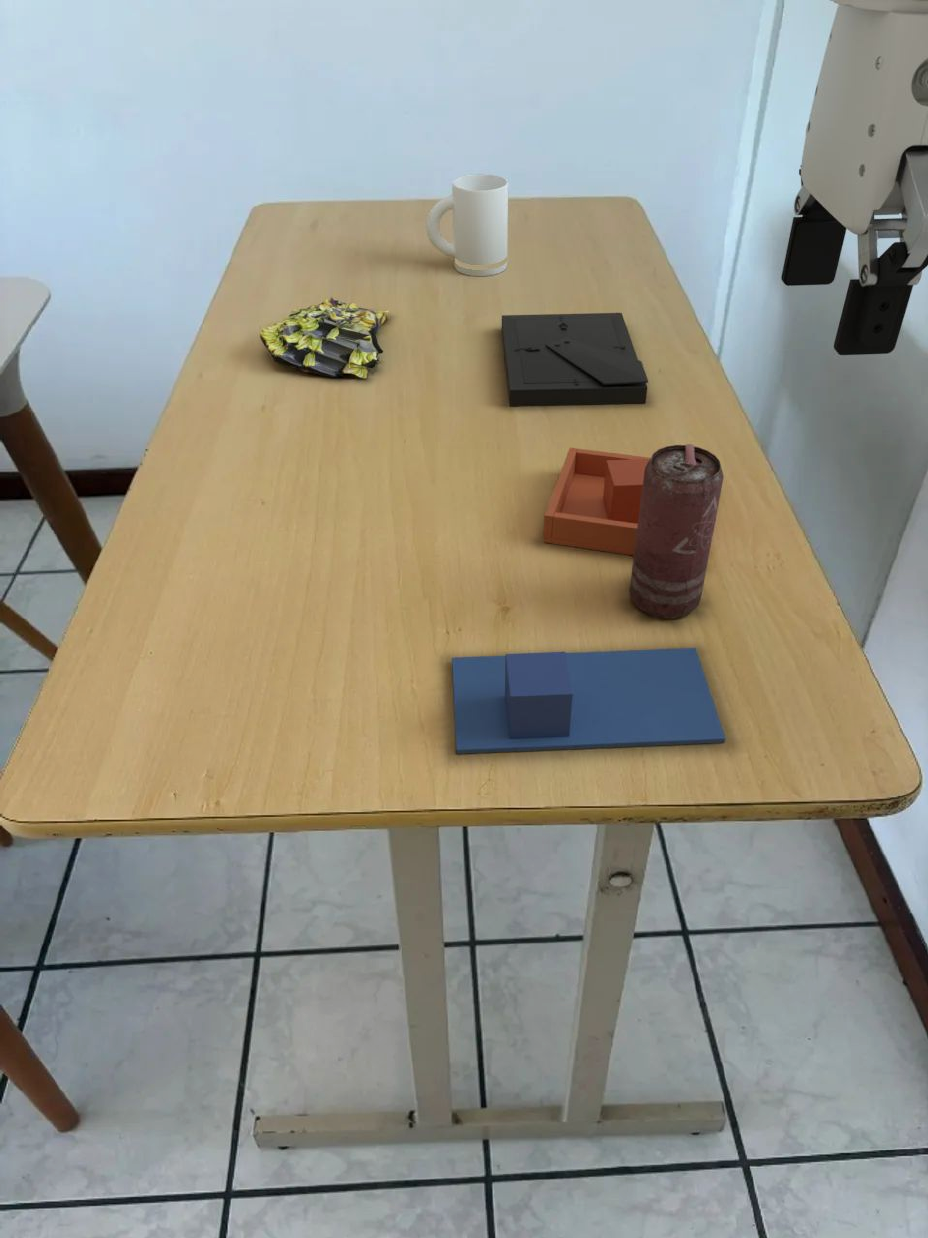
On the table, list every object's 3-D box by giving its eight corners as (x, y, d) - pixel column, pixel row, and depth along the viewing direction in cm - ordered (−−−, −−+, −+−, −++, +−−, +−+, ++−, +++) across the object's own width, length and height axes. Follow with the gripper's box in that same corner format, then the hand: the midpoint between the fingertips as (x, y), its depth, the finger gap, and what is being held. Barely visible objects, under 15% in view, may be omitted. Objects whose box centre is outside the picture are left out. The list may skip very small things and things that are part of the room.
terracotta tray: (710, 492, 97) (715, 465, 95) (699, 565, 88) (704, 538, 86) (568, 473, 100) (569, 447, 98) (543, 542, 91) (544, 515, 89)
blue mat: (694, 652, 79) (695, 647, 78) (724, 743, 71) (726, 738, 71) (452, 661, 78) (451, 657, 78) (456, 754, 71) (456, 749, 70)
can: (696, 577, 86) (720, 440, 77) (702, 623, 81) (729, 483, 72) (627, 574, 87) (644, 438, 78) (630, 619, 82) (648, 480, 73)
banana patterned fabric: (311, 311, 134) (321, 266, 131) (416, 357, 133) (429, 312, 129) (239, 349, 118) (247, 299, 114) (358, 402, 116) (370, 352, 113)
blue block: (562, 693, 75) (565, 651, 72) (569, 736, 71) (573, 693, 68) (504, 696, 75) (505, 653, 72) (509, 739, 71) (510, 696, 68)
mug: (427, 258, 147) (423, 175, 139) (504, 255, 147) (505, 172, 140) (429, 278, 141) (425, 193, 133) (509, 275, 141) (510, 189, 133)
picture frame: (645, 403, 111) (620, 327, 127) (648, 380, 109) (622, 306, 125) (509, 406, 111) (501, 330, 127) (510, 383, 109) (501, 309, 125)
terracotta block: (647, 497, 95) (652, 458, 92) (656, 523, 92) (662, 483, 89) (602, 499, 95) (606, 459, 92) (609, 525, 92) (613, 485, 89)
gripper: (1097, -10, 39) (960, 381, 50) (922, -59, 52) (845, 259, 63) (912, -5, 38) (816, 386, 50) (784, -56, 51) (731, 263, 63)
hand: (832, 315), depth 56 cm, fingers open, 9 cm apart
